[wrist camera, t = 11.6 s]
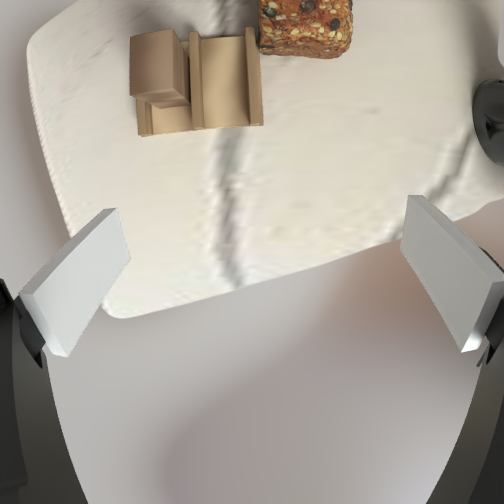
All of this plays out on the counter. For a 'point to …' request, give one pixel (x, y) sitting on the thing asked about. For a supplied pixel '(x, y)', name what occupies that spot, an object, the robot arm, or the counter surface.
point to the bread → (305, 27)
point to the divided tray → (213, 88)
